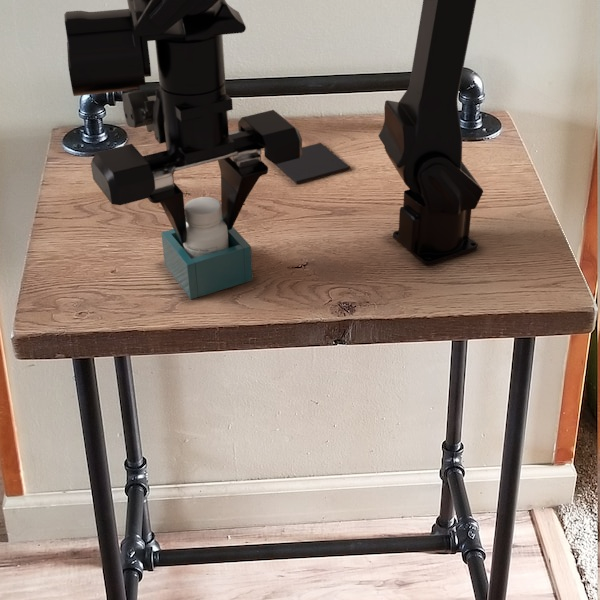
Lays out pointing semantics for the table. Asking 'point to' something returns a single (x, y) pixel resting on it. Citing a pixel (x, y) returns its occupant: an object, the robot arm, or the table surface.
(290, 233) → the table surface
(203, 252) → the pill bottle
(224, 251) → the holder
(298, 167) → the mat
